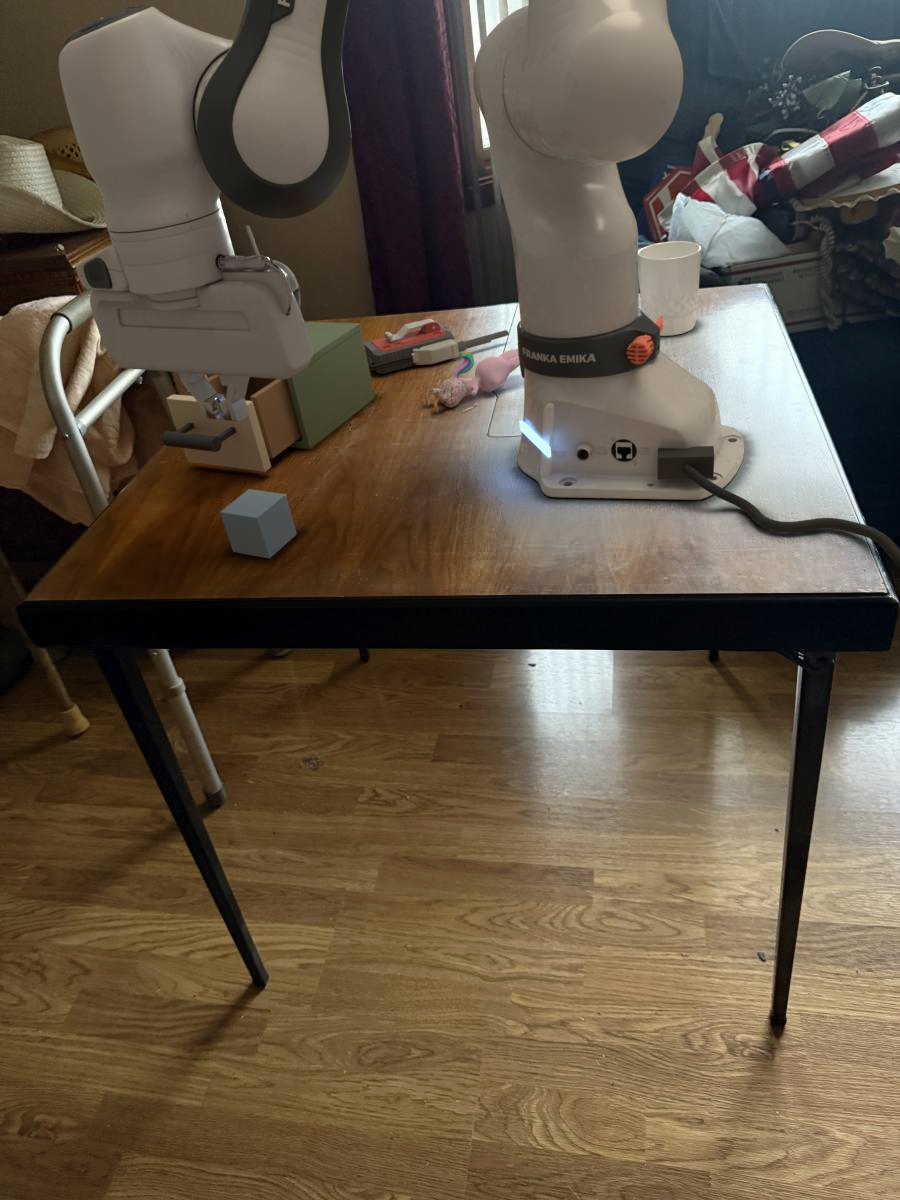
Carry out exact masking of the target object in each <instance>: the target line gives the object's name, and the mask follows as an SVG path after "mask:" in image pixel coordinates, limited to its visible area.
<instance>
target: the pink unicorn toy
mask: <svg viewBox="0 0 900 1200" xmlns="http://www.w3.org/2000/svg"><path fill="white" fill-rule="evenodd" d="M459 358H461V359H463V360H462V362H461V363H460V364H459V365H458V366H457V367H456V370H455V371H454V374H453V375H452V377H450V378H448V379H446V380H444V381H443V382H442V383H441V384H440V386H439V387H438V388H430V389H429V391H428V393H427V394H426V393H425V392H423V395H424V399H425V401H424V402H425V404H427V407H429V406H430V400H429V399H430V396H431V395H433V396H434V397H435V398H436V399H434V398H431V400H432V401H433V402H432V404H433V410H434V409H435V410H436V413H438V412H439V407H438V403H442V404H443V405H444V406H445V407H446V408H454V407H456V406H457V405H458V404H459V403H460V401H462V400H463V398H464V397H465V396H470V395H471V396H476V394H477V393H478V391H479V387H480V390H481V391H486V392H487V393H492V392H493V391H495V390H497V389H499V388H500V387H501V386H502V385H503V384H505V383H506V382H507V380H508V378H509V376H510V374H511V373H512V372H514V371H515V370H516V369H517V368H519V367H520V362H519V356H518V348H511V349H509V350H506V351H504V352H503V353H501V354H500V355H498V356H496V355H492V356H487V357H485V358H483V359H481V361H479V362H478V364H477V365H476V367H475V370H474V377H473V378H465V377H460V376H461V375H463V374H466V373H468V372H469V371H471V370H472V369H473V367H474V364H475V358H474V355H473V354H472V353H471V352H464V353H462V354H461V355H459Z"/></svg>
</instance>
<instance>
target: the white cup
mask: <svg viewBox="0 0 900 1200" xmlns="http://www.w3.org/2000/svg"><path fill="white" fill-rule="evenodd" d="M702 248H703V247H702V245H700V244H699V243H696V242H694V241H687V240H686V241H685V240H675V241H661V242H658V243H653V244H650V245H647V246H644V247H643V248H642V247H641V249H638V276H639V299H640V309H641V310H642V312H643V313H644V314H645V315H646V316H647V317H648V318H650V319H651V320H652V321H653V322H654V323H655V322H656V321H657V320H658V319H659V318H660V316H663V324H662V325H663V330H662V331H661V332H660V337H667V336H677V335H681V334H685V333H688V332H690V331H691V330H693V329H694V328H695V326H696V321H697V320H696V319H697V306H698V301H699V289H700V278H701V277H700V276H701V262H702Z"/></svg>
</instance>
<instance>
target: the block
mask: <svg viewBox="0 0 900 1200" xmlns="http://www.w3.org/2000/svg"><path fill="white" fill-rule="evenodd" d="M219 514H220V516H221V520H222V522H223V526H224V529H225V532H226V535H227V538H228V541H229V544H230V547H231V549H232V552H233V553H237V554H241V555H242V554H243V555H247V556H252V557H253V556H254V557H258V558H264V559H271V558H273V556H274V555H276V554H277V553H278V552H280V550H281V549H282V548H283V547H285V546H286V545H287V544H288V543H289V542H290V541H291V540H293V538H294V537H296V536H297V534H298V533H297V530H296V526H295V523H294V519H293V516H292V513H291V509H290V504H289V501H288V497H287V495H286V493H278V492H272V491H266V490H257V489H252V488H251V489H250V488H248V489H247V490H246V491H245V492H243V493H242V494H241V495H239V496H238V497H237V498H236V499H234V500H233V501H231V503H229V504H228V505H227V506H225V507H224V508H223V509H222V510H220V511H219Z"/></svg>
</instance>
